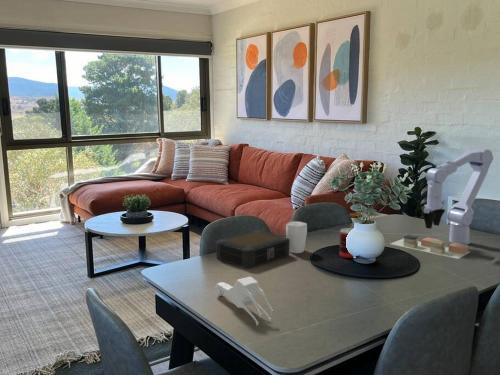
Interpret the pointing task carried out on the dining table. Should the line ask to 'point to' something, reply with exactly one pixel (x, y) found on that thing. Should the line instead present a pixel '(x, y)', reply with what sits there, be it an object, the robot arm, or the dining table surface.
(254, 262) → the cash box
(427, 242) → the cap marked
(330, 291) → the dining table surface
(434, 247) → the plain block
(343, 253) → the canned food
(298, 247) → the cup
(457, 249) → the cap plain
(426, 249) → the board
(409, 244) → the marked block
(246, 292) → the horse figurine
